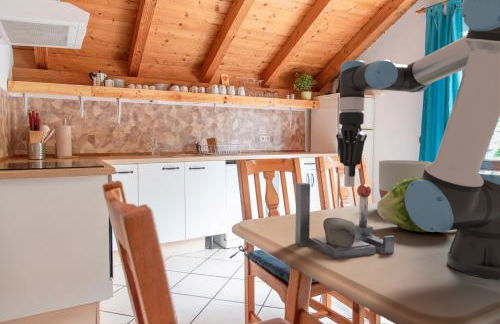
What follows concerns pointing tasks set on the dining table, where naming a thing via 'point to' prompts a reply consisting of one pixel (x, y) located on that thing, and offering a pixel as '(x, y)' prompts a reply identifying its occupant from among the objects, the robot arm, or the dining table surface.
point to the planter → (398, 172)
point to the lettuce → (398, 206)
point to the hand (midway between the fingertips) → (349, 186)
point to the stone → (339, 232)
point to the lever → (363, 210)
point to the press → (359, 247)
